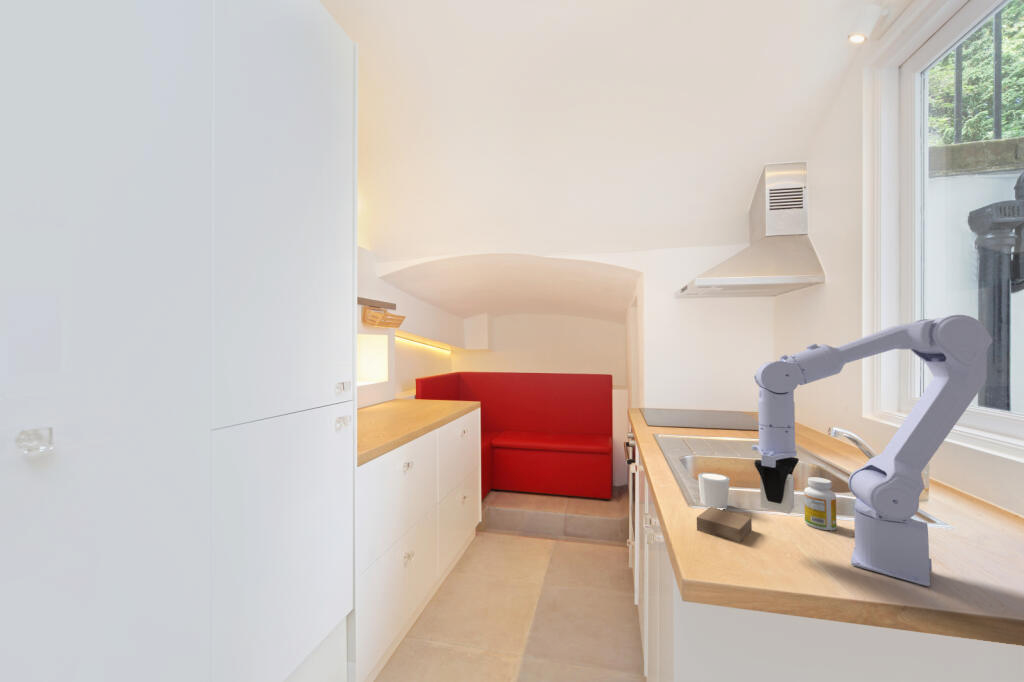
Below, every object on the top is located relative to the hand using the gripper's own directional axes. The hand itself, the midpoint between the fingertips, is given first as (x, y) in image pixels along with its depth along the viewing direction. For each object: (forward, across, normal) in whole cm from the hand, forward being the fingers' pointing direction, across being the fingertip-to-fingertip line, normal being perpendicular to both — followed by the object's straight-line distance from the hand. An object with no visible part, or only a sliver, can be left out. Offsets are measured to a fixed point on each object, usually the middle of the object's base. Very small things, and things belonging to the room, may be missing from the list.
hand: (777, 498), depth 75 cm
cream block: (+2, 0, 0) cm, 2 cm away
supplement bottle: (+10, -19, +4) cm, 22 cm away
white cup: (+10, -15, -16) cm, 24 cm away
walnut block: (+10, -2, -10) cm, 14 cm away
